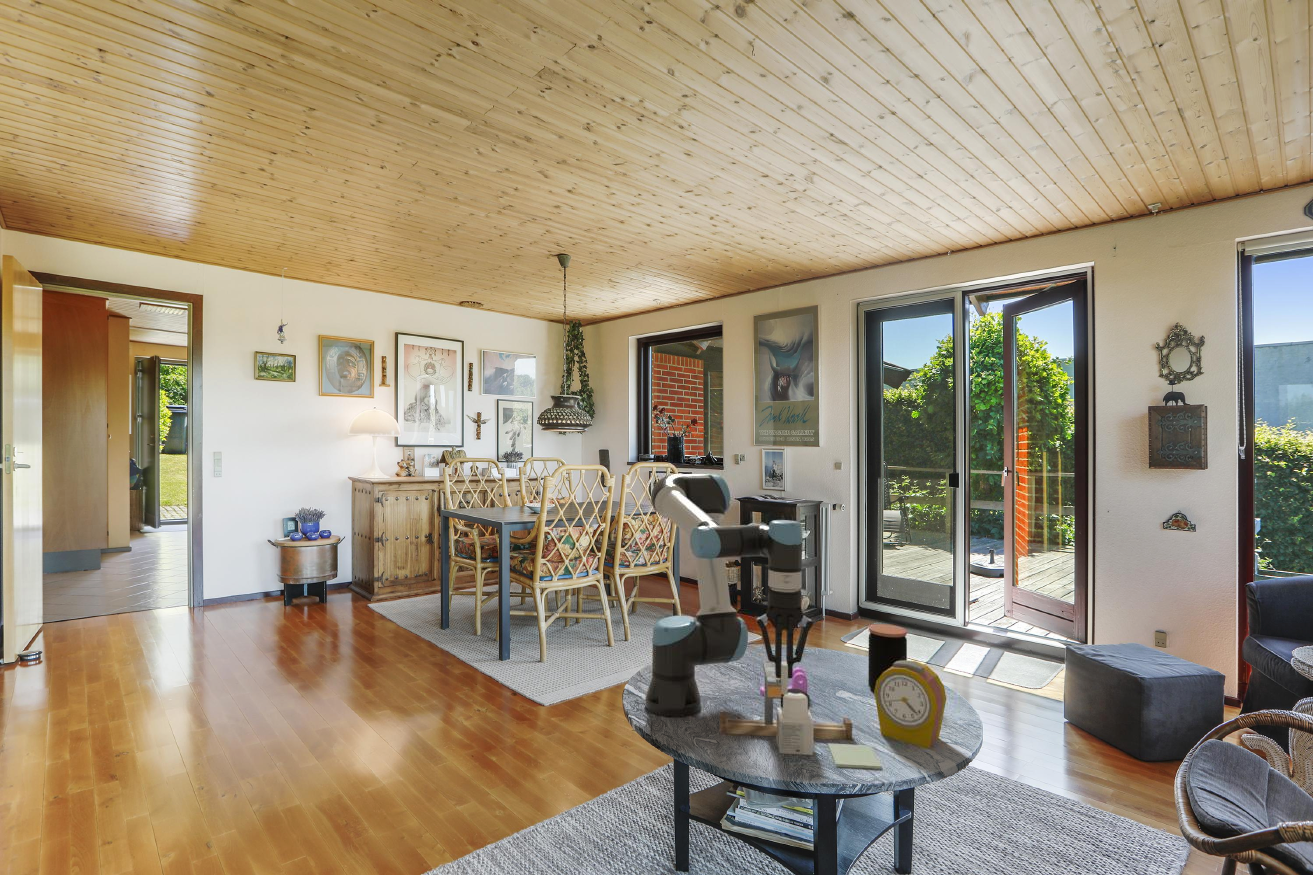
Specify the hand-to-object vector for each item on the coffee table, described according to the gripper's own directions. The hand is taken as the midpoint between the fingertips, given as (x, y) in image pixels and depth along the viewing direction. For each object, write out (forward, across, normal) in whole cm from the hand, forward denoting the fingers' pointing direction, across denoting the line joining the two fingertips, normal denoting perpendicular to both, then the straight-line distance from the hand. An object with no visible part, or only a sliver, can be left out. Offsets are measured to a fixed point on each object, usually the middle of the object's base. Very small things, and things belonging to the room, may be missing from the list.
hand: (783, 691), depth 146 cm
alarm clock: (+15, +32, +14) cm, 38 cm away
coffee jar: (+15, +36, +45) cm, 59 cm away
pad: (+15, +16, +2) cm, 22 cm away
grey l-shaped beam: (+12, -2, +6) cm, 13 cm away
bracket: (+15, +5, +39) cm, 42 cm away
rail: (+15, +2, +12) cm, 19 cm away
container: (+15, +3, +5) cm, 16 cm away
